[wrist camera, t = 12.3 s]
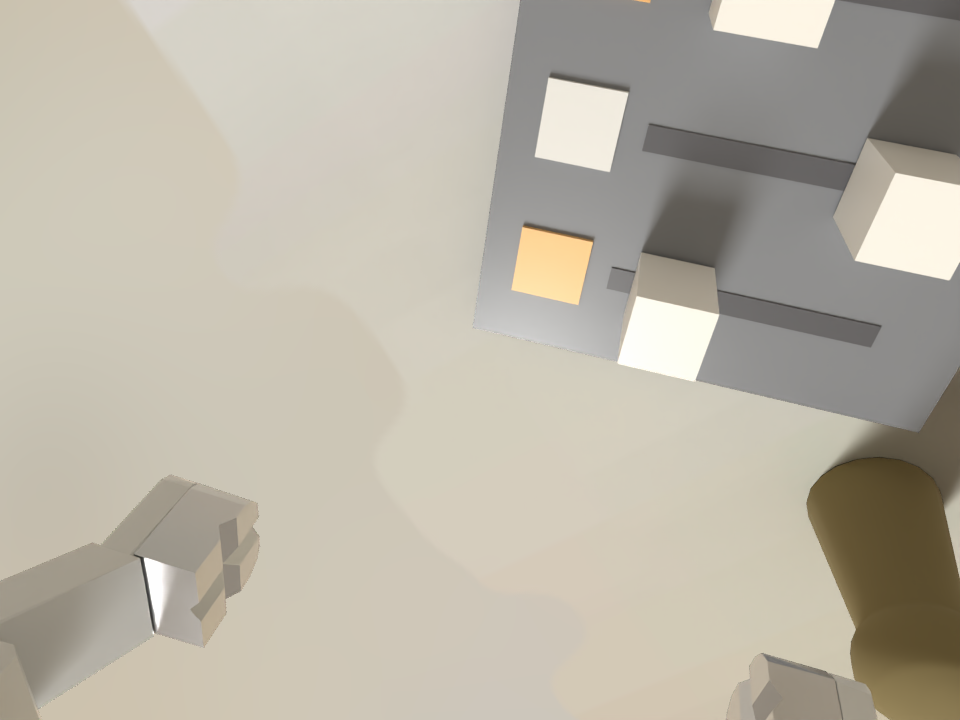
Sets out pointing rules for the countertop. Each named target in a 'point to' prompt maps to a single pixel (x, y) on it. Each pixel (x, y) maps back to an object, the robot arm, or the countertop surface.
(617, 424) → the countertop surface
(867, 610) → the cork
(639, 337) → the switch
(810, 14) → the cream slider knob
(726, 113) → the switch panel
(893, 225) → the switch middle
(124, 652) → the robot arm
